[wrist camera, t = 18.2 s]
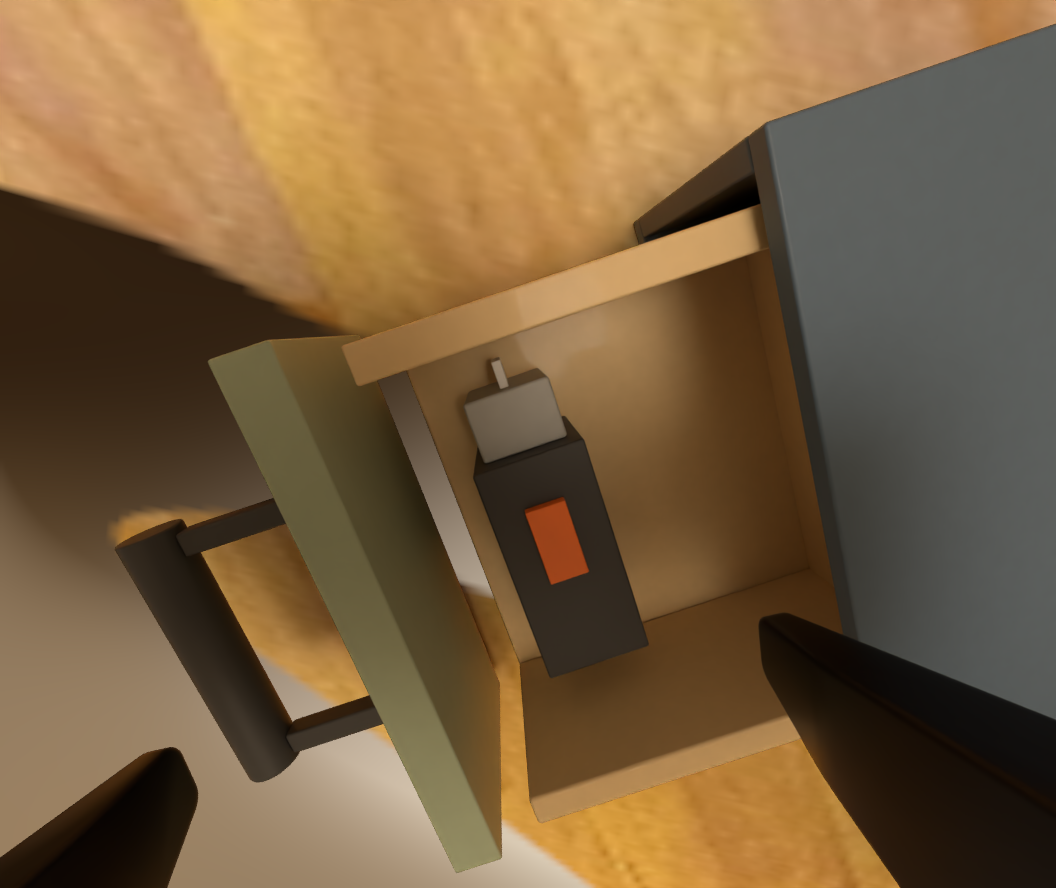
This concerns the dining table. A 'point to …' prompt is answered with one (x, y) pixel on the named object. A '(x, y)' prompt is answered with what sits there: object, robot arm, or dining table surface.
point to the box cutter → (551, 523)
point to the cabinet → (922, 349)
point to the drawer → (426, 571)
